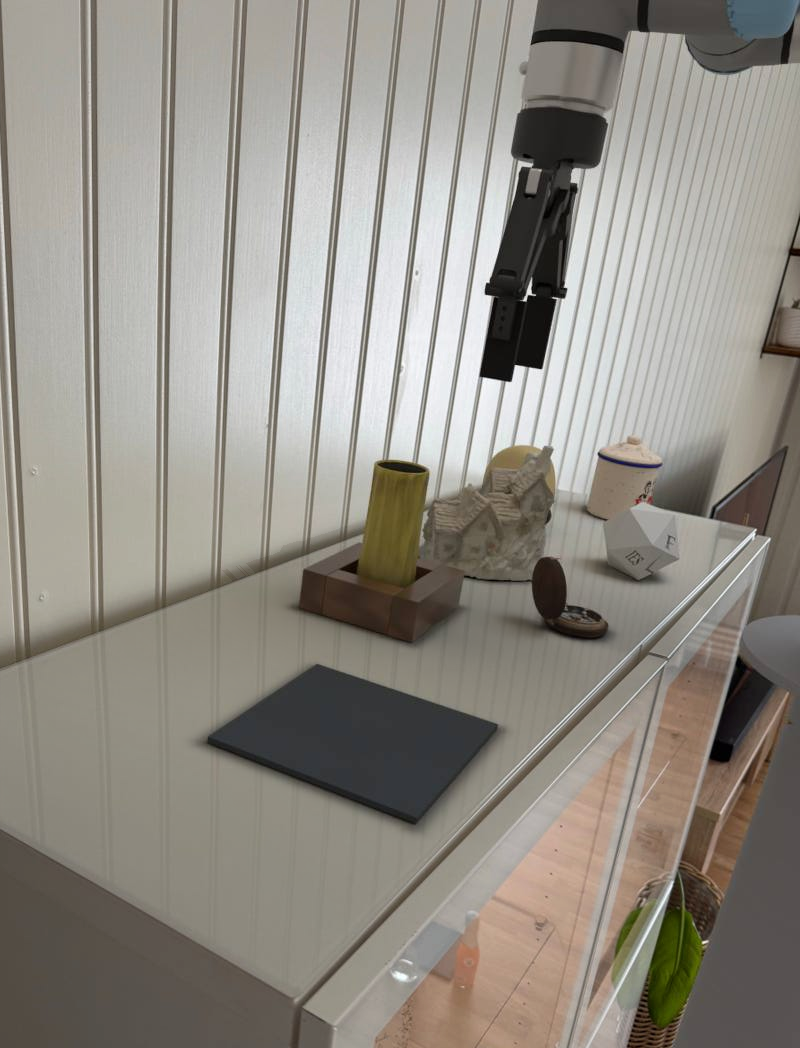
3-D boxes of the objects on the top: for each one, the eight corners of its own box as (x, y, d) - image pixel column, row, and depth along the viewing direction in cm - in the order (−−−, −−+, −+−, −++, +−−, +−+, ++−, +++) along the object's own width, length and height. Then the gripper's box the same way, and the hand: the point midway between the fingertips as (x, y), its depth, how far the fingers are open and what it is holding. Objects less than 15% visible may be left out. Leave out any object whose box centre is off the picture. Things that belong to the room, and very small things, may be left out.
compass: (618, 640, 95) (636, 570, 92) (545, 639, 93) (561, 567, 90) (581, 609, 102) (596, 543, 99) (512, 607, 100) (526, 540, 97)
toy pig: (475, 544, 132) (491, 509, 122) (477, 467, 136) (492, 427, 126) (546, 550, 132) (568, 516, 122) (546, 472, 136) (567, 433, 126)
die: (597, 583, 113) (666, 531, 107) (574, 527, 118) (639, 474, 112) (642, 603, 118) (710, 554, 111) (618, 548, 123) (682, 499, 117)
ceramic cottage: (536, 543, 122) (554, 425, 115) (556, 593, 107) (578, 460, 101) (413, 535, 122) (424, 417, 116) (416, 583, 108) (429, 451, 101)
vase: (412, 623, 93) (436, 478, 87) (349, 614, 93) (369, 469, 87) (410, 600, 98) (432, 463, 92) (350, 593, 98) (369, 455, 93)
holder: (458, 607, 98) (465, 570, 96) (411, 642, 88) (418, 602, 86) (353, 577, 103) (358, 541, 101) (298, 607, 93) (303, 568, 91)
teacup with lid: (643, 528, 136) (664, 447, 131) (579, 514, 139) (597, 434, 135) (653, 511, 146) (673, 435, 142) (593, 499, 149) (611, 424, 145)
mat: (497, 729, 74) (498, 724, 74) (415, 824, 61) (417, 817, 61) (316, 668, 80) (317, 663, 80) (207, 742, 67) (207, 736, 67)
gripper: (547, 128, 92) (504, 356, 100) (483, 81, 70) (434, 377, 79) (627, 135, 89) (575, 368, 98) (586, 88, 68) (524, 393, 76)
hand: (512, 373), depth 88 cm, fingers open, 13 cm apart
